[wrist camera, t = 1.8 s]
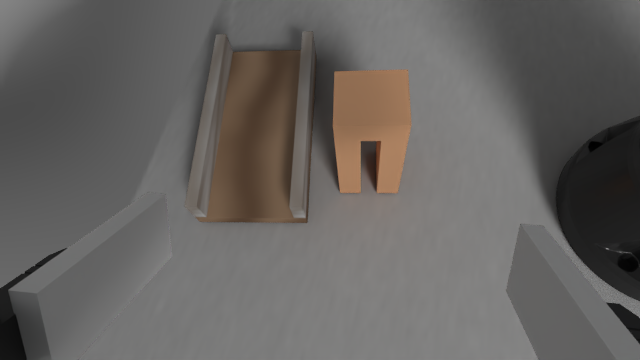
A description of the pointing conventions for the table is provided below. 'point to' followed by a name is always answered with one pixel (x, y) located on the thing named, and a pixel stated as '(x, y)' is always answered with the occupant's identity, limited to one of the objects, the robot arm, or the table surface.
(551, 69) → the table surface
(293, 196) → the rail
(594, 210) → the robot arm
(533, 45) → the table surface
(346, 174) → the clip
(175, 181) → the table surface
